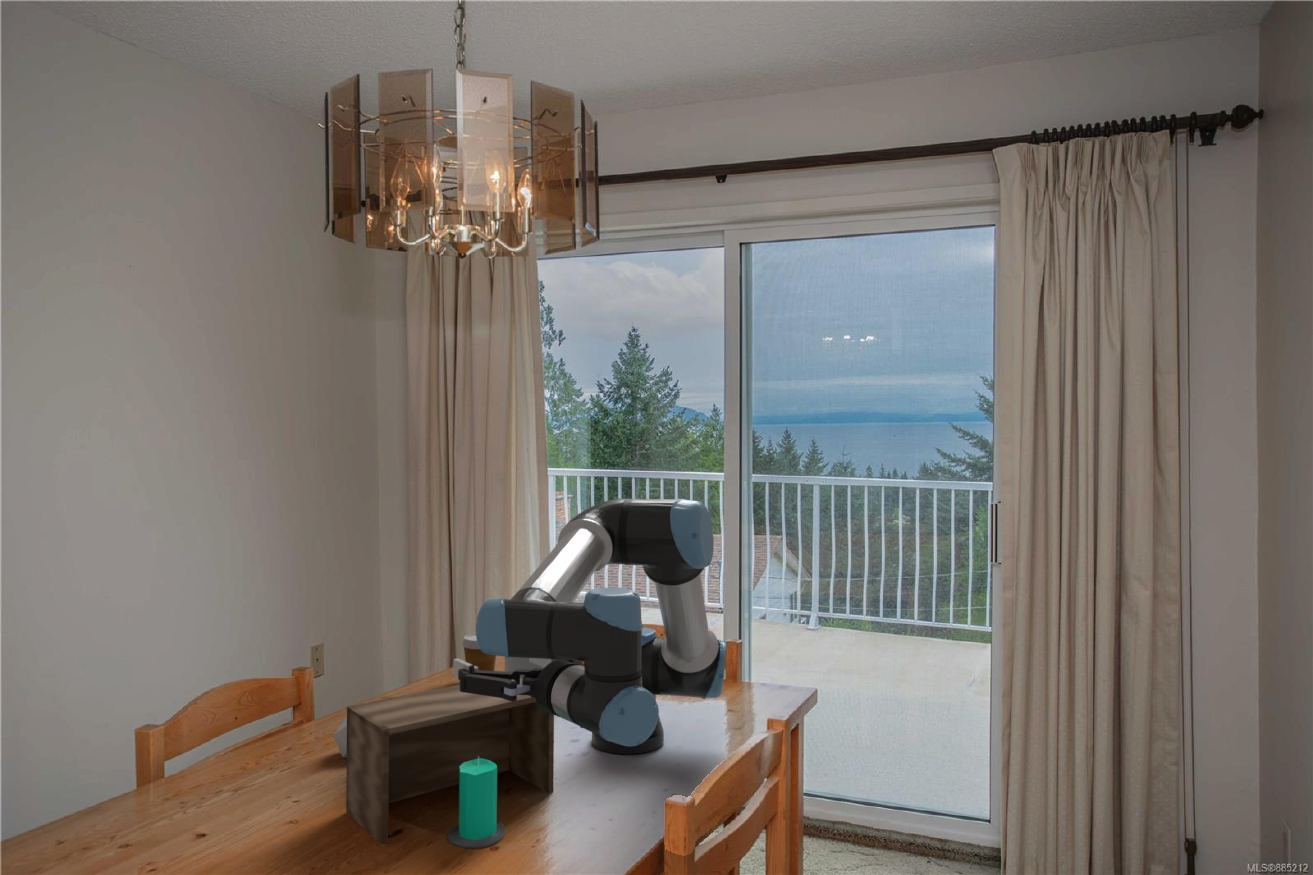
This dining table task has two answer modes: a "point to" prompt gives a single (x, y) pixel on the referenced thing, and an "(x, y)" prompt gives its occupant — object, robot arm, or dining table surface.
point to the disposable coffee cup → (477, 654)
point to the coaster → (479, 843)
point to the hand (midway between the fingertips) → (494, 660)
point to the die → (342, 738)
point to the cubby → (439, 747)
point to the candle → (477, 799)
